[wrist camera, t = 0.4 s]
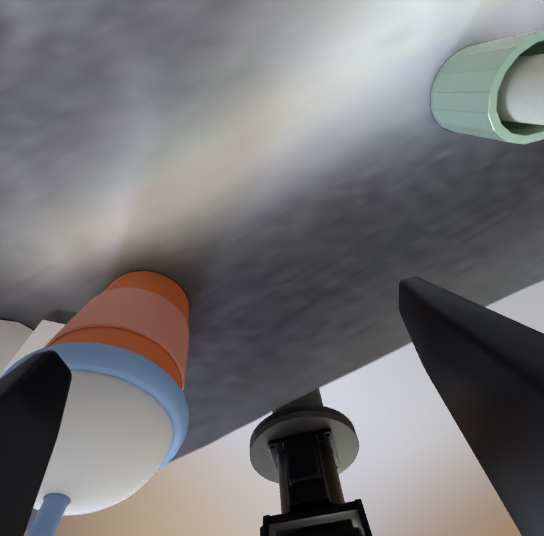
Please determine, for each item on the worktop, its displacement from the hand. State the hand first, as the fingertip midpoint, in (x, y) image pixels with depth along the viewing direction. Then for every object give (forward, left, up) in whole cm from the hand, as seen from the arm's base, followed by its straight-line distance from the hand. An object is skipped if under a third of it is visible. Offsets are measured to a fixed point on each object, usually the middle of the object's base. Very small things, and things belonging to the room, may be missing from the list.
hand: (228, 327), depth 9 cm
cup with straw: (-7, +9, -15) cm, 19 cm away
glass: (+2, -15, -15) cm, 21 cm away
